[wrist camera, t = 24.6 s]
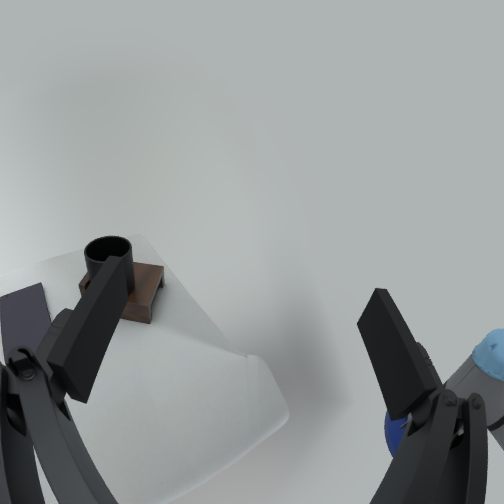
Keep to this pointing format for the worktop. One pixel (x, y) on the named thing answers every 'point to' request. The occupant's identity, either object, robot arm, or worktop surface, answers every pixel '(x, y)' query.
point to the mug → (110, 246)
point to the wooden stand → (138, 291)
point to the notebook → (24, 318)
